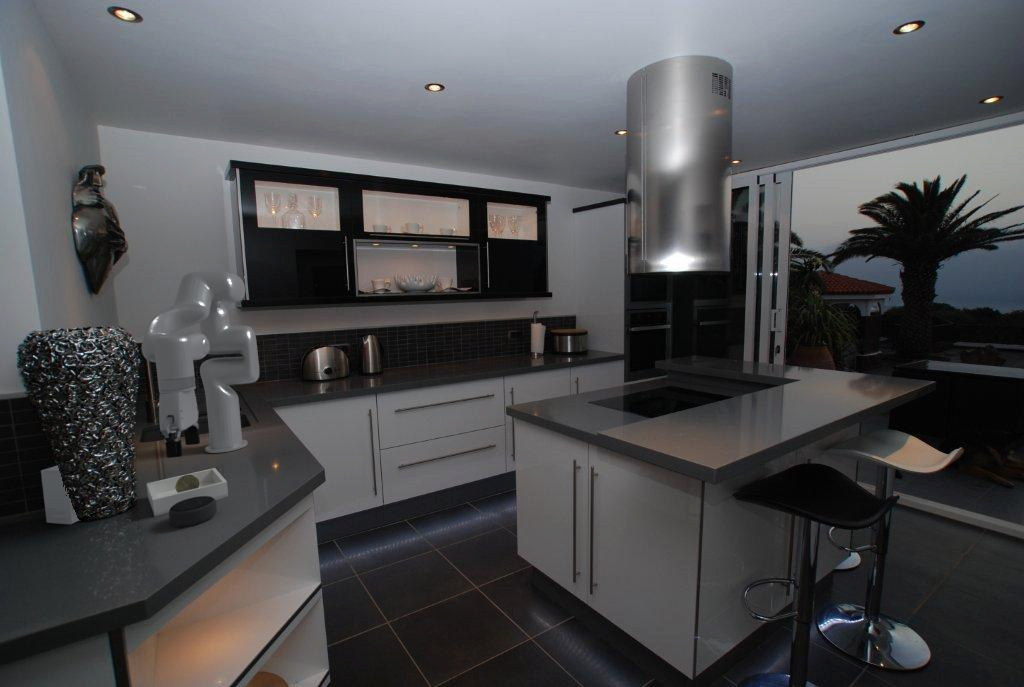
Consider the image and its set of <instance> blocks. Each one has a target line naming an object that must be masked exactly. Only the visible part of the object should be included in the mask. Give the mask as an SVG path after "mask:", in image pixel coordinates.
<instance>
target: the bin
mask: <svg viewBox="0 0 1024 687" xmlns="http://www.w3.org/2000/svg"><path fill="white" fill-rule="evenodd" d="M184 475H193V476H195V477H196V478H198V480H199V488H196V489H192V490H188V491H184V492H179V493H178V492H177V491H176V488H175V486H176V483H177V481H178V479H180V478H181V477H182V476H184ZM228 488H229V487H228V481H227V480H226V479H225V478H224V477H223V475H222V474H221V473H220V471H218V470H217V469H216V467H212V468H209V469H205V470H200V471H196V472H192V473H191V472H190V473H186V474H183V475H177V476H174V477H173V476H172V477H169V478H165V479H161V480H155V481H152V482H147V483H146V490H147V498H148V501H149V504H150V507H151V511H152V514H153V516H154V517H159V516H162V515H166V514H169V510H170V508H171V507H172V506H173V505H175V504H176V503H178V502H180V501H183V500H186V499H189V498H193V497H199V496H210V497H213V498H214V499H215V500H216V501H219V500H222V499H223V500H224V499H226V498H229V489H228Z"/></svg>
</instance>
